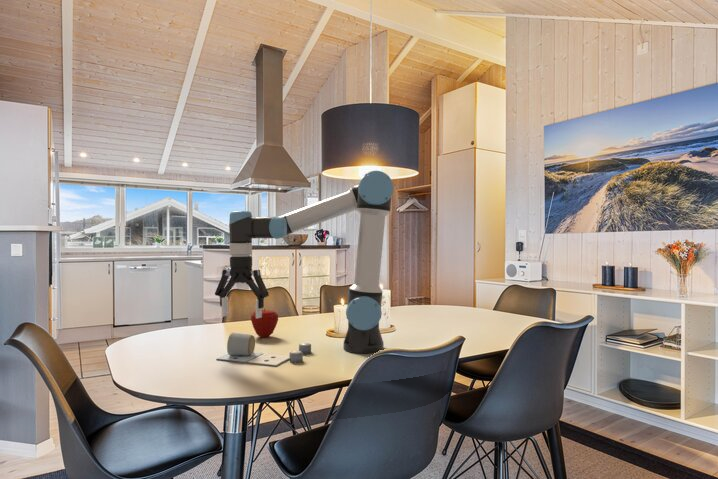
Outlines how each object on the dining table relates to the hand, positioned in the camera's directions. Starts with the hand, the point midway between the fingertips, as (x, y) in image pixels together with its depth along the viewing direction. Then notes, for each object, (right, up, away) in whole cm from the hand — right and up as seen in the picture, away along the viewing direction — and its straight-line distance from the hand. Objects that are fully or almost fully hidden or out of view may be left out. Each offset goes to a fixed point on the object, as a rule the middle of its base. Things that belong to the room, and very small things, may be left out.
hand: (241, 316), depth 154 cm
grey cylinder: (-1, -14, +2) cm, 14 cm away
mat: (+5, -14, -2) cm, 15 cm away
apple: (+1, -14, +32) cm, 35 cm away
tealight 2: (+21, -14, +7) cm, 26 cm away
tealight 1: (+19, -14, -4) cm, 25 cm away
